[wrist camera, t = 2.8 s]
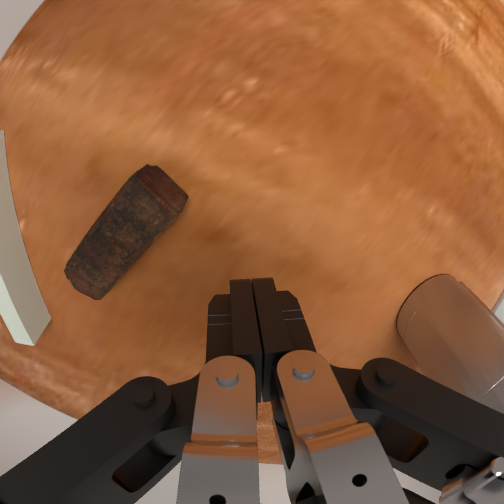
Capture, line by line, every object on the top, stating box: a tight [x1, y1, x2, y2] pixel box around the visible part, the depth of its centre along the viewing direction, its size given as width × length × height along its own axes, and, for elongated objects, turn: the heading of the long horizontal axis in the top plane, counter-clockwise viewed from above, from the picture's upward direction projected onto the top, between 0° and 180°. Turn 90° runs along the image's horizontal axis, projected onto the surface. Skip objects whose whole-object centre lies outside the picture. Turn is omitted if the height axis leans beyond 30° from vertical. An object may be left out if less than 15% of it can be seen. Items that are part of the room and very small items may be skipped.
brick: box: [64, 164, 188, 300], centre depth 19 cm, size 11×4×5 cm, turn 132°
